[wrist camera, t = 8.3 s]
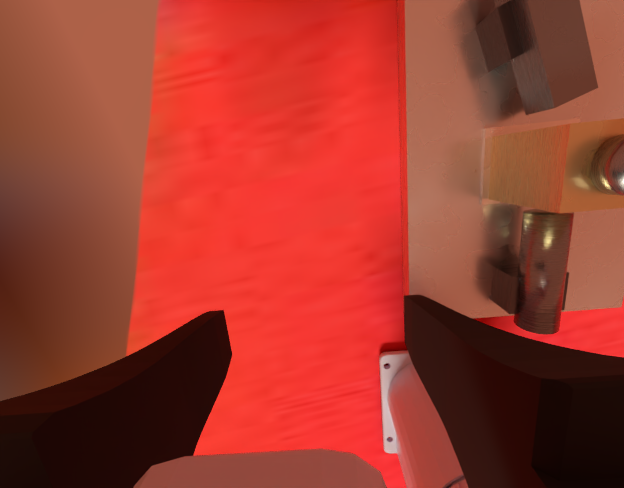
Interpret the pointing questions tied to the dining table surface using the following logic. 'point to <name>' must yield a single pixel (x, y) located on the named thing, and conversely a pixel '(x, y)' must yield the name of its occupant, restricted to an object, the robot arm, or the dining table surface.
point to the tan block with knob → (560, 167)
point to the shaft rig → (478, 145)
